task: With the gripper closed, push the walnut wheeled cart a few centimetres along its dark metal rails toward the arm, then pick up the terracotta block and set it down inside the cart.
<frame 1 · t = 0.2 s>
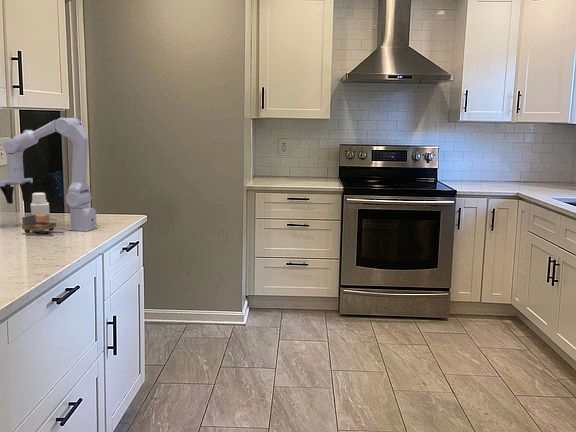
hand: (17, 202, 232), 10 cm above the countertop, tool pointing down, fingers open, 7 cm apart
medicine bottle: (40, 220, 249), on the countertop
cart: (38, 224, 220), point 4 cm above the countertop, slide at 0.0 cm
rails: (42, 233, 220), on the countertop
terracotta block: (41, 227, 232), on the countertop
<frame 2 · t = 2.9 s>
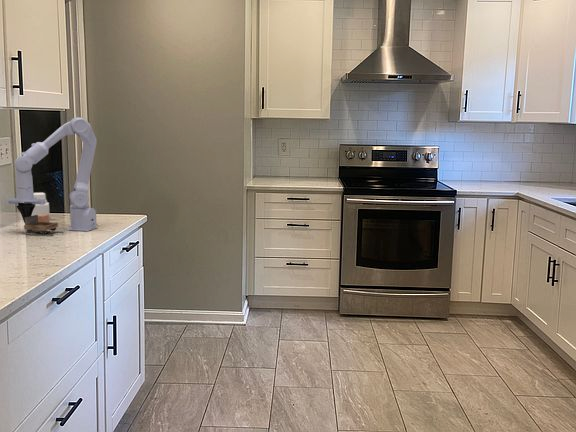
hand: (27, 222, 221), 4 cm above the countertop, tool pointing down, fingers closed
cart: (41, 224, 220), point 4 cm above the countertop, slide at 1.0 cm, touching gripper
everything else where it was.
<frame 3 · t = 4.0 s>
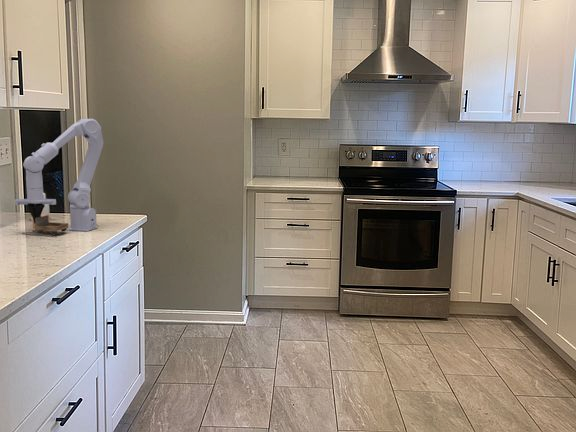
hand: (37, 223, 220), 4 cm above the countertop, tool pointing down, fingers closed
cart: (51, 224, 219), point 4 cm above the countertop, slide at 5.5 cm, touching gripper
everything else where it was.
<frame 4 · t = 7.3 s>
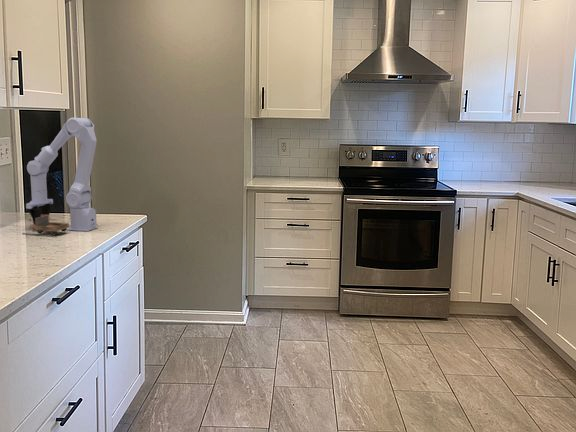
hand: (41, 223, 232), 1 cm above the countertop, tool pointing down, fingers closed on terracotta block, 4 cm apart
cart: (51, 224, 219), point 4 cm above the countertop, slide at 5.5 cm
terracotta block: (41, 227, 232), on the countertop, touching gripper
everything else where it was.
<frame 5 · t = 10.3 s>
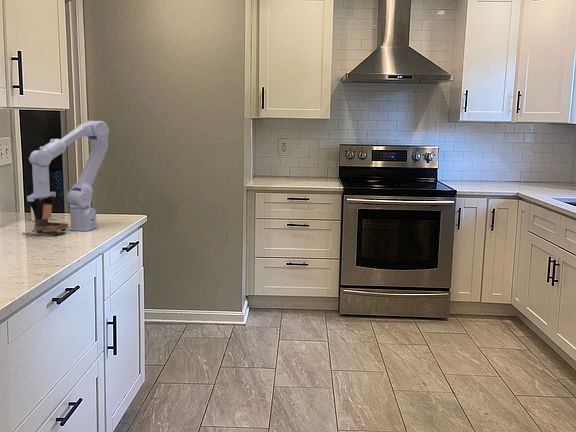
hand: (42, 217, 218), 6 cm above the countertop, tool pointing down, fingers closed on cart, terracotta block, 5 cm apart
cart: (51, 224, 219), point 4 cm above the countertop, slide at 5.3 cm, touching gripper, terracotta block
terracotta block: (42, 217, 218), point 6 cm above the countertop, tilted 6°, touching cart, gripper
everything else where it was.
when the fingers open (6 cm above the countertop, at t = 11.5 s): terracotta block drops 1 cm and tips over, resting on cart.
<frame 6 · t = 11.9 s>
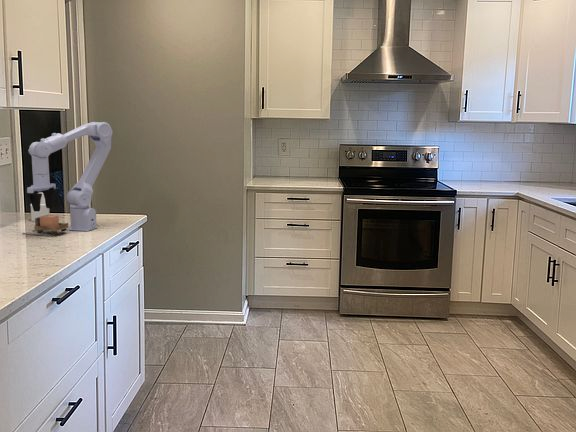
hand: (43, 209, 218), 9 cm above the countertop, tool pointing down, fingers open, 7 cm apart
cart: (51, 224, 219), point 4 cm above the countertop, slide at 5.4 cm, touching terracotta block
terracotta block: (43, 221, 219), point 5 cm above the countertop, tilted 90°, touching cart
everything else where it was.
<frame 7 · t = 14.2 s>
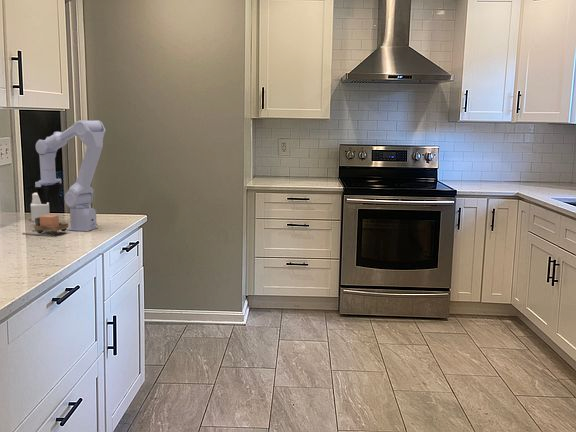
hand: (49, 202, 235), 9 cm above the countertop, tool pointing down, fingers open, 7 cm apart
nothing on the countertop moved.
at the end: cart slide at 5.4 cm; terracotta block touching cart; terracotta block point 4.9 cm above the countertop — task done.
